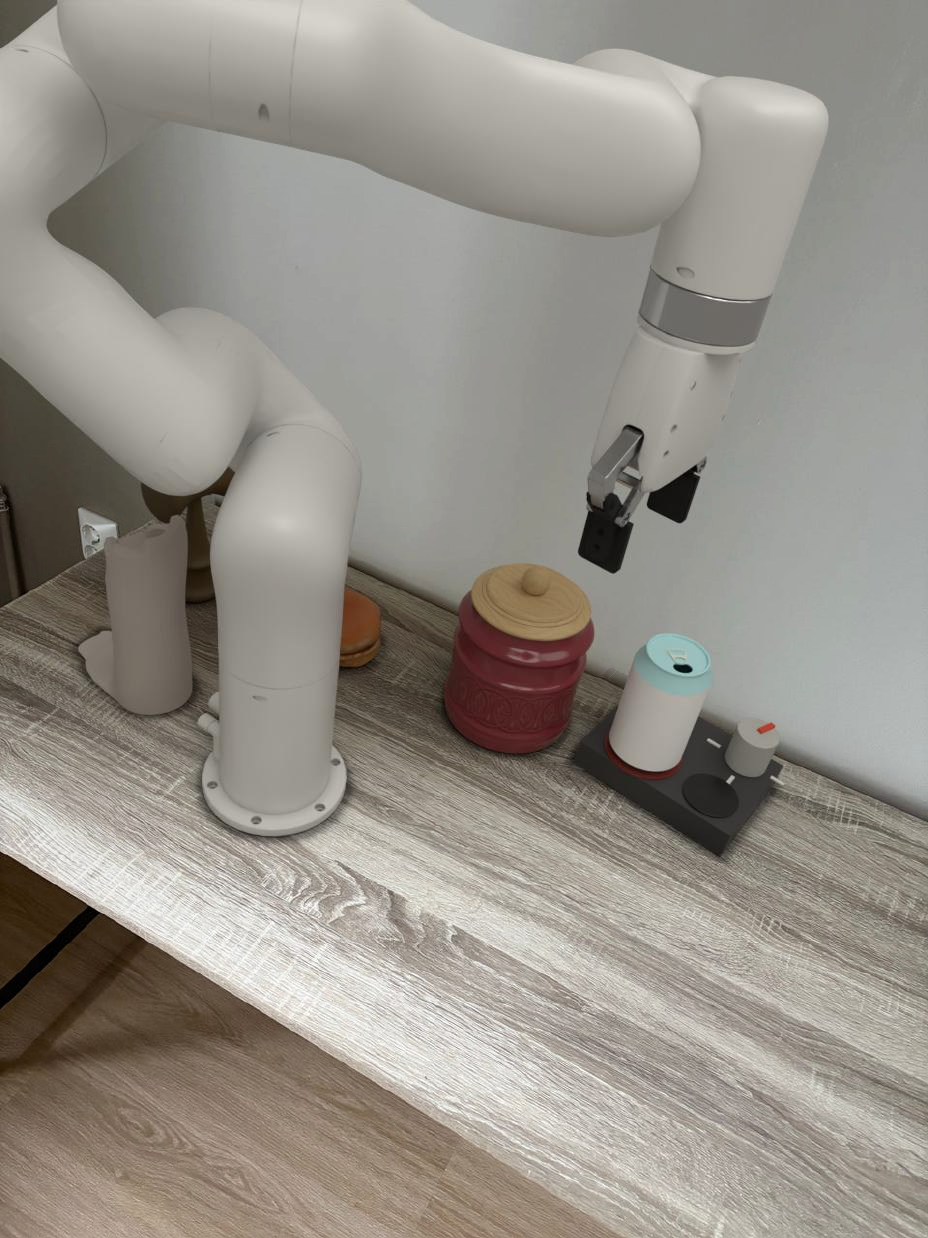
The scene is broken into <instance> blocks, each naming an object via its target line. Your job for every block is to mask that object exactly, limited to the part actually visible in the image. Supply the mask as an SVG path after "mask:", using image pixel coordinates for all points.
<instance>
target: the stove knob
mask: <svg viewBox="0 0 928 1238" xmlns="http://www.w3.org/2000/svg"><path fill="white" fill-rule="evenodd" d="M732 736H733V737H732V739H731V741H730V743H729V746H728V748H727V750H726V752H725V761H726V763H727V764H728V766H729V767H730V768H731V769H732V770H733V771H735V772H736V773H738V774H740V775H743V776H746V777H758V776H761V775H762V774H763V773H764V772H765V770H766V768H767V766H768V764H769V762H770V760H771V759H773V756H774V754H775V752H776V750H777V748H778V745H779V744H780V740H781V738H780V734H779V732H778V730H777V729H776V724H774V723H773V722H772V721H771V722H767V721H766V720H763V719H760V718H756V717H745V718H743V719H741V720H739V722H738V723H737V725H736V728H735V730H734V732H733V735H732Z"/></svg>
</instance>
